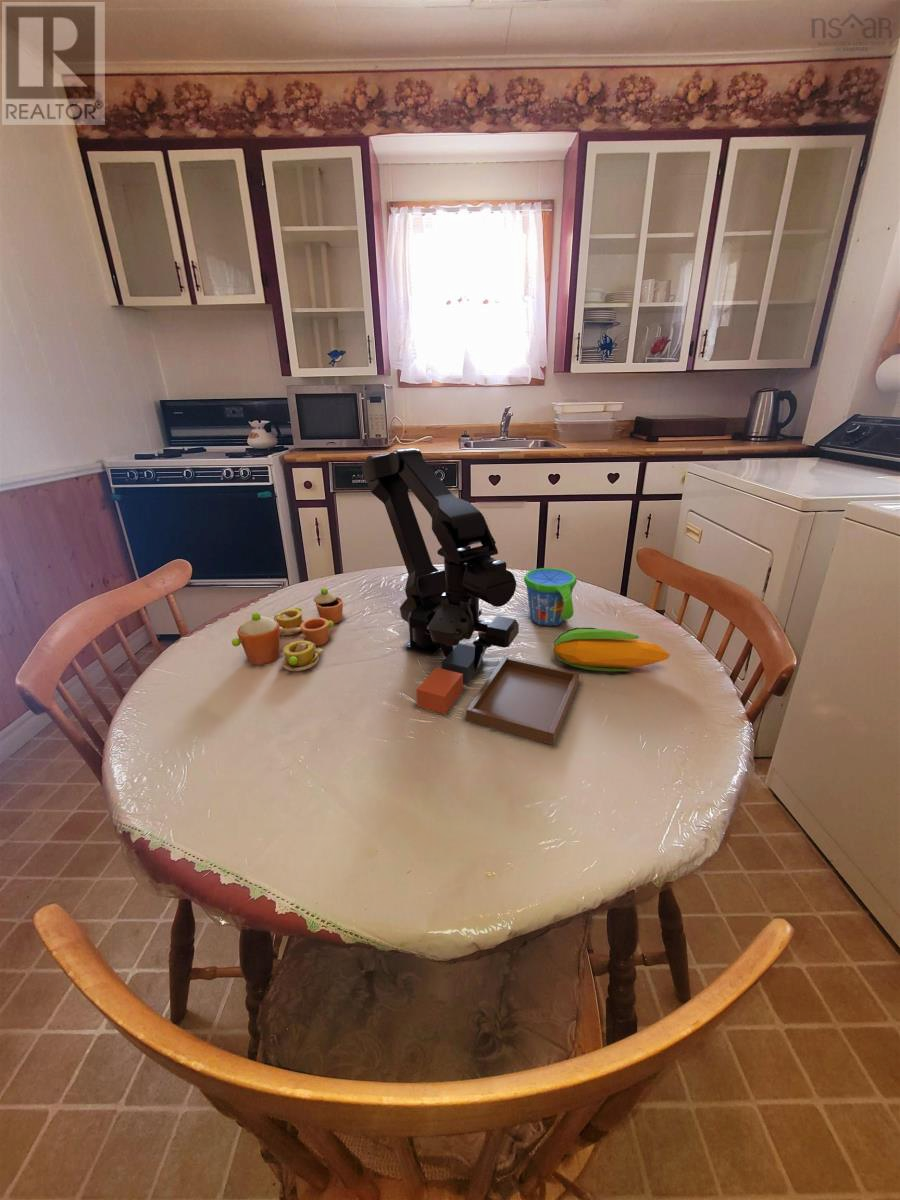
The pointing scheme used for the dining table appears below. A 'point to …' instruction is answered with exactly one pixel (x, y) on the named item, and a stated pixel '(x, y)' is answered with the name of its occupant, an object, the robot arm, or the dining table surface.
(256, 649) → the toy tea set
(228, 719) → the dining table surface
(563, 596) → the snack cup
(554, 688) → the tray
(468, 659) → the dark grey rectangular block
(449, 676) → the orange red rectangular block
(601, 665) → the corn
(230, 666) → the dining table surface
